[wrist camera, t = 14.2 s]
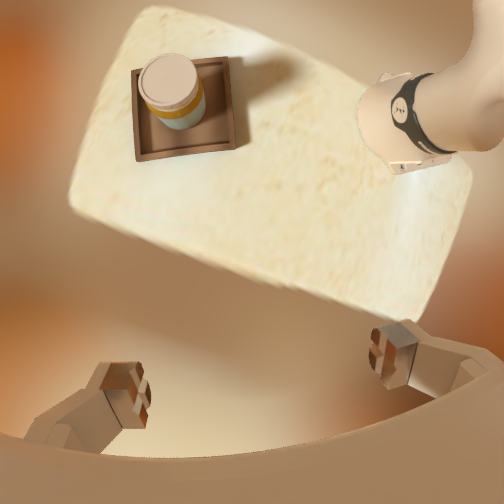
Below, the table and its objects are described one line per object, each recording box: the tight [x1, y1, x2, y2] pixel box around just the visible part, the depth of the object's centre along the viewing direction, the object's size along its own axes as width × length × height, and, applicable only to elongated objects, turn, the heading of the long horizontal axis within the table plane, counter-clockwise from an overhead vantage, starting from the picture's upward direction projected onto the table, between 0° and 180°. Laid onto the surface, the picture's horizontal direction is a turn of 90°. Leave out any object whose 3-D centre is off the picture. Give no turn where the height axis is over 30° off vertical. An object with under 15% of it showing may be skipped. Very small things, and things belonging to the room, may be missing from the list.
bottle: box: [138, 53, 206, 130], centre depth 32 cm, size 7×7×15 cm
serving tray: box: [131, 57, 236, 162], centre depth 39 cm, size 15×15×2 cm
